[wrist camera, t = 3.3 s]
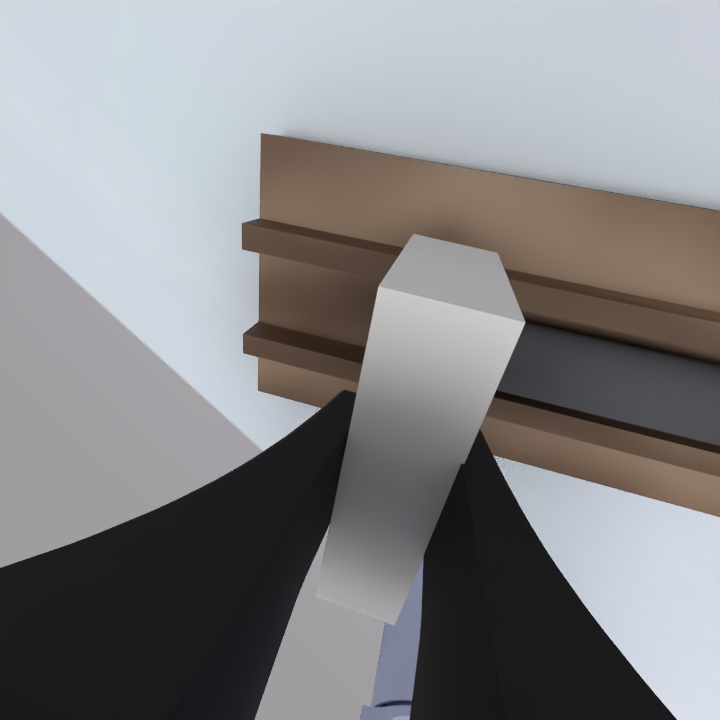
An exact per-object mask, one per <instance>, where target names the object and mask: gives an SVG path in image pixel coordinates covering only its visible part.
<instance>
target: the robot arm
mask: <svg viewBox="0 0 720 720" xmlns="http://www.w3.org/2000/svg"><path fill="white" fill-rule="evenodd" d="M356 394H357V393H355V392H352V391H348V390H343V391H341V392H339V393H338V394H337V395H336V396H335V397H334V398H333V399H332V400H331V401H330V402H328V403H327V404H326V405H325V406H324V407H323V408H322V409H320V410H319V411H318V412H317V413H315V414H314V415H313V416H312V417H311V418H309V419H308V420H307V421H305V422H304V423H303V424H301V425H300V426H299V427H298V428H296V429H295V430H294V431H292V432H291V433H290V434H288V435H287V436H286V437H284V438H283V439H281V440H280V441H278V442H277V443H275V444H274V445H272V446H271V447H269V448H268V449H266V450H265V451H263V452H262V453H260V454H259V455H257V456H256V457H254V458H253V459H251V460H249V461H248V462H246V463H244V464H243V465H241V466H239V467H238V468H236V469H234V470H233V471H231V472H229V473H227V474H225V475H224V476H222V477H220V478H218V479H217V480H215V481H213V482H211V483H209V484H207V485H205V486H203V487H201V488H199V489H197V490H195V491H193V492H191V493H189V494H187V495H185V496H183V497H181V498H179V499H177V500H175V501H173V502H171V503H169V504H166V505H164V506H162V507H160V508H158V509H155V510H153V511H151V512H148V513H146V514H144V515H141V516H139V517H136V518H134V519H132V520H129V521H127V522H124V523H122V524H120V525H117V526H115V527H112V528H110V529H108V530H105V531H103V532H100V533H98V534H95V535H93V536H90V537H88V538H85V539H82V540H80V541H77V542H75V543H72V544H69V545H67V546H64V547H60V548H58V549H55V550H52V551H49V552H46V553H43V554H40V555H37V556H34V557H31V558H28V559H25V560H22V561H19V562H17V563H14V564H11V565H8V566H5V567H2V568H0V720H254V719H255V716H256V713H257V710H258V708H259V704H260V701H261V699H262V695H263V693H264V690H265V687H266V684H267V682H268V679H269V676H270V673H271V670H272V667H273V664H274V661H275V658H276V656H277V653H278V650H279V647H280V644H281V641H282V639H283V636H284V633H285V630H286V627H287V624H288V622H289V619H290V616H291V613H292V610H293V607H294V605H295V602H296V599H297V597H298V594H299V591H300V589H301V587H302V584H303V582H304V580H305V577H306V575H307V573H308V570H309V568H310V566H311V564H312V561H313V559H314V557H315V555H316V553H317V551H318V548H319V546H320V544H321V542H322V540H323V537H324V535H325V533H326V531H327V529H328V526H329V524H330V522H331V517H332V512H333V507H334V502H335V497H336V492H337V487H338V482H339V477H340V473H341V468H342V463H343V458H344V453H345V448H346V443H347V438H348V433H349V428H350V424H351V419H352V414H353V409H354V404H355V399H356ZM360 720H677V719H676V718H675V717H674V716H673V715H672V713H671V712H670V711H669V710H668V709H667V707H666V706H665V705H664V704H663V703H662V702H661V700H660V699H659V698H658V697H657V696H656V695H655V693H654V692H653V691H652V690H651V689H650V687H649V686H648V685H647V684H646V683H645V681H644V680H643V679H642V678H641V677H640V675H639V674H638V673H637V672H636V670H635V669H634V668H633V667H632V665H631V664H630V663H629V662H628V660H627V659H626V658H625V657H624V655H623V654H622V653H621V652H620V650H619V649H618V648H617V647H616V645H615V644H614V643H613V642H612V640H611V639H610V638H609V637H608V635H607V634H606V633H605V632H604V630H603V629H602V628H601V626H600V625H599V624H598V623H597V621H596V620H595V619H594V617H593V616H592V615H591V613H590V612H589V611H588V609H587V608H586V607H585V605H584V604H583V603H582V601H581V600H580V598H579V597H578V596H577V594H576V593H575V591H574V590H573V588H572V587H571V586H570V584H569V583H568V581H567V580H566V579H565V577H564V576H563V574H562V573H561V572H560V570H559V569H558V567H557V566H556V564H555V563H554V561H553V560H552V558H551V557H550V555H549V554H548V552H547V551H546V549H545V548H544V546H543V544H542V543H541V541H540V540H539V538H538V536H537V535H536V533H535V531H534V530H533V528H532V527H531V525H530V523H529V522H528V520H527V518H526V516H525V515H524V513H523V511H522V510H521V508H520V506H519V504H518V502H517V500H516V499H515V497H514V495H513V493H512V491H511V489H510V488H509V486H508V484H507V482H506V480H505V478H504V476H503V474H502V472H501V470H500V468H499V466H498V464H497V462H496V460H495V458H494V456H493V454H492V452H491V450H490V448H489V446H488V444H487V442H486V440H485V437H484V435H483V433H482V431H481V430H480V429H479V431H478V434H477V436H476V438H475V440H474V443H473V445H472V447H471V450H470V452H469V454H468V457H467V459H466V461H465V464H462V463H461V466H460V468H459V471H458V473H457V475H456V478H455V480H454V483H453V485H452V488H451V490H450V492H449V495H448V497H447V500H446V502H445V504H444V507H443V509H442V512H441V514H440V517H439V519H438V521H437V524H436V526H435V529H434V531H433V534H432V536H431V538H430V541H429V543H428V546H427V548H426V551H425V553H424V557H423V561H422V563H421V565H420V568H419V570H418V572H417V575H416V577H415V579H414V582H413V584H412V586H411V588H410V591H409V593H408V595H407V598H406V600H405V602H404V605H403V607H402V609H401V612H400V614H399V616H398V619H397V621H396V623H395V625H391V624H388V623H385V625H384V631H383V637H382V643H381V649H380V655H379V661H378V667H377V673H376V678H375V684H374V690H373V696H372V702H371V707H370V706H365V705H363V706H362V709H361V715H360Z"/></svg>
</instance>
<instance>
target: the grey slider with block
mask: <svg viewBox="0 0 720 720" xmlns="http://www.w3.org/2000/svg"><path fill="white" fill-rule="evenodd" d="M497 391H501V392H505V393H509V394H513V395H518V396H522V397H526V398H530V399H534V400H538V401H542V402H546V403H550V404H554V405H558V406H562V407H566V408H570V409H574V410H578V411H582V412H586V413H590V414H594V415H598V416H602V417H606V418H610V419H614V420H618V421H622V422H626V423H630V424H634V425H638V426H642V427H646V428H650V429H654V430H658V431H662V432H666V433H670V434H674V435H678V436H682V437H686V438H690V439H694V440H698V441H702V442H706V443H710V444H714V445H718V446H720V365H716V364H712V363H707V362H703V361H698V360H694V359H689V358H685V357H680V356H676V355H671V354H667V353H662V352H658V351H653V350H649V349H644V348H640V347H635V346H631V345H626V344H622V343H617V342H613V341H608V340H604V339H599V338H595V337H590V336H586V335H581V334H577V333H572V332H568V331H563V330H559V329H554V328H550V327H545V326H541V325H536V324H532V323H527V322H526V323H525V325H524V327H523V329H522V332H521V334H520V336H519V339H518V341H517V343H516V346H515V348H514V350H513V353H512V355H511V357H510V360H509V362H508V364H507V366H506V369H505V371H504V373H503V376H502V378H501V380H500V383H499V385H498V387H497Z"/></svg>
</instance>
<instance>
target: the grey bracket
mask: <svg viewBox="0 0 720 720" xmlns="http://www.w3.org/2000/svg"><path fill="white" fill-rule="evenodd" d="M525 323H526V322H525V320H524V317H523V315H522V312H521V310H520V307H519V305H518V302H517V300H516V297H515V295H514V292H513V290H512V287H511V285H510V282H509V280H508V277H507V275H506V272H505V270H504V267H503V265H502V262H501V260H500V257H499V255H498V253H496V252H492V251H488V250H483V249H479V248H474V247H470V246H465V245H461V244H457V243H452V242H448V241H443V240H439V239H434V238H430V237H426V236H421V235H417V234H413V235H412V237H411V238H410V240H409V241H408V243H407V244H406V246H405V247H404V249H403V250H402V252H401V253H400V255H399V256H398V258H397V259H396V261H395V262H394V264H393V265H392V267H391V268H390V270H389V271H388V273H387V274H386V276H385V277H384V279H383V280H382V282H381V283H380V285H379V286H378V291H377V296H376V301H375V306H374V311H373V316H372V321H371V325H370V330H369V335H368V340H367V345H366V350H365V355H364V360H363V365H362V370H361V374H360V379H359V384H358V389H357V394H356V399H355V404H354V409H353V414H352V419H351V424H350V428H349V433H348V438H347V443H346V448H345V453H344V458H343V463H342V468H341V473H340V477H339V482H338V487H337V492H336V497H335V502H334V507H333V512H332V517H331V522H330V526H329V531H328V536H327V541H326V546H325V551H324V556H323V561H322V566H321V571H320V575H319V581H318V585H317V590H316V595H315V597H316V598H319V599H322V600H324V601H327V602H330V603H333V604H335V605H338V606H341V607H344V608H346V609H349V610H352V611H355V612H358V613H360V614H364V615H366V616H369V617H372V618H374V619H377V620H380V621H383V622H385V623H388V624H391V625H395V623H396V621H397V619H398V616H399V614H400V612H401V609H402V607H403V605H404V602H405V600H406V598H407V595H408V593H409V591H410V588H411V586H412V584H413V582H414V579H415V577H416V575H417V572H418V570H419V568H420V565H421V563H422V561H423V557H424V553H425V551H426V548H427V546H428V543H429V541H430V538H431V536H432V534H433V531H434V529H435V526H436V524H437V521H438V519H439V517H440V514H441V512H442V509H443V507H444V504H445V502H446V500H447V497H448V495H449V492H450V490H451V488H452V485H453V483H454V480H455V478H456V475H457V473H458V471H459V468H460V466H461V463H462V464H465V461H466V459H467V457H468V454H469V452H470V450H471V447H472V445H473V443H474V440H475V438H476V436H477V434H478V431H479V429H480V427H481V424H482V422H483V420H484V417H485V415H486V413H487V410H488V408H489V406H490V403H491V401H492V399H493V397H494V394H495V392H496V390H497V387H498V385H499V383H500V380H501V378H502V376H503V373H504V371H505V369H506V366H507V364H508V362H509V360H510V357H511V355H512V353H513V350H514V348H515V346H516V343H517V341H518V339H519V336H520V334H521V332H522V329H523V327H524V325H525Z"/></svg>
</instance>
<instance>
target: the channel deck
mask: <svg viewBox="0 0 720 720" xmlns="http://www.w3.org/2000/svg"><path fill="white" fill-rule="evenodd" d="M413 234H417V235H421V236H426V237H430V238H434V239H439V240H443V241H448V242H452V243H457V244H461V245H465V246H470V247H474V248H479V249H483V250H488V251H492V252H496V253H498V255H499V257H500V260H501V262H502V265H503V267H504V270H505V272H506V275H507V277H508V280H509V282H510V285H511V287H512V290H513V292H514V295H515V297H516V300H517V302H518V305H519V307H520V310H521V312H522V315H523V317H524V320H525V322H527V323H532V324H536V325H541V326H545V327H550V328H554V329H559V330H563V331H568V332H572V333H577V334H581V335H586V336H590V337H595V338H599V339H604V340H608V341H613V342H617V343H622V344H626V345H631V346H635V347H640V348H644V349H649V350H653V351H658V352H662V353H667V354H671V355H676V356H680V357H685V358H689V359H694V360H698V361H703V362H707V363H712V364H716V365H720V211H717V210H711V209H705V208H699V207H694V206H688V205H682V204H676V203H670V202H664V201H658V200H653V199H647V198H641V197H635V196H629V195H623V194H617V193H612V192H606V191H600V190H594V189H588V188H582V187H577V186H571V185H565V184H559V183H553V182H547V181H541V180H536V179H530V178H524V177H518V176H512V175H506V174H501V173H495V172H489V171H483V170H477V169H471V168H465V167H460V166H454V165H448V164H442V163H436V162H430V161H424V160H419V159H413V158H407V157H401V156H395V155H389V154H384V153H378V152H372V151H366V150H360V149H354V148H348V147H343V146H337V145H331V144H325V143H319V142H313V141H307V140H302V139H296V138H290V137H284V136H277V135H270V134H263V133H261V168H260V218H259V219H256V220H252V221H249V222H245V223H242V249H243V250H248V251H252V252H257V253H260V256H259V322H258V323H256V324H255V325H254V326H253V327H251V328H250V329H249V330H247V331H246V332H245V333H244V334H243V353H245V354H249V355H253V356H256V357H258V391H261V392H265V393H269V394H272V395H276V396H280V397H283V398H287V399H291V400H294V401H298V402H302V403H305V404H309V405H312V406H316V407H320V408H323V407H324V406H325V405H326V404H327V403H328V402H330V401H331V400H332V399H333V398H334V397H335V396H336V395H337V394H338V393H339V392H341V391H343V390H348V391H352V392H355V393H357V389H358V384H359V379H360V374H361V370H362V365H363V360H364V355H365V350H366V345H367V340H368V335H369V330H370V325H371V321H372V316H373V311H374V306H375V301H376V296H377V291H378V286H379V285H380V283H381V282H382V280H383V279H384V277H385V276H386V274H387V273H388V271H389V270H390V268H391V267H392V265H393V264H394V262H395V261H396V259H397V258H398V256H399V255H400V253H401V252H402V250H403V249H404V247H405V246H406V244H407V243H408V241H409V240H410V238H411V237H412V235H413ZM480 430H481V431H482V433H483V435H484V437H485V440H486V442H487V444H488V446H489V448H490V450H491V452H492V454H493V455H495V456H499V457H502V458H506V459H510V460H513V461H517V462H521V463H524V464H528V465H532V466H535V467H539V468H543V469H546V470H550V471H554V472H557V473H561V474H565V475H568V476H572V477H576V478H579V479H583V480H587V481H590V482H594V483H597V484H601V485H605V486H608V487H612V488H616V489H619V490H623V491H627V492H630V493H634V494H638V495H641V496H645V497H649V498H652V499H656V500H660V501H663V502H667V503H671V504H674V505H678V506H682V507H685V508H689V509H692V510H696V511H700V512H703V513H707V514H711V515H714V516H718V517H720V446H718V445H714V444H710V443H706V442H702V441H698V440H694V439H690V438H686V437H682V436H678V435H674V434H670V433H666V432H662V431H658V430H654V429H650V428H646V427H642V426H638V425H634V424H630V423H626V422H622V421H618V420H614V419H610V418H606V417H602V416H598V415H594V414H590V413H586V412H582V411H578V410H574V409H570V408H566V407H562V406H558V405H554V404H550V403H546V402H542V401H538V400H534V399H530V398H526V397H522V396H518V395H513V394H509V393H505V392H501V391H497V390H496V392H495V394H494V397H493V399H492V401H491V403H490V406H489V408H488V410H487V413H486V415H485V417H484V420H483V422H482V424H481V427H480Z"/></svg>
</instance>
